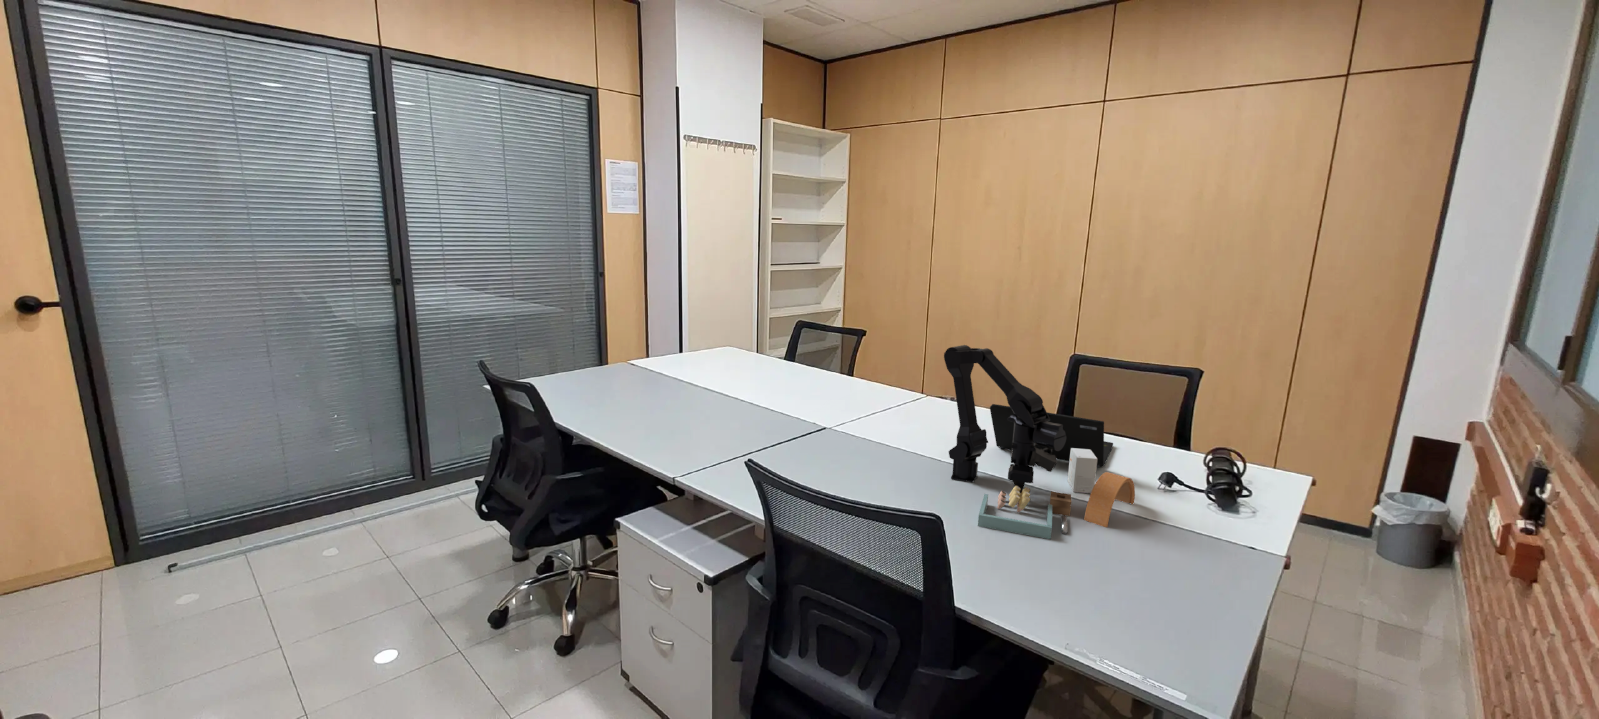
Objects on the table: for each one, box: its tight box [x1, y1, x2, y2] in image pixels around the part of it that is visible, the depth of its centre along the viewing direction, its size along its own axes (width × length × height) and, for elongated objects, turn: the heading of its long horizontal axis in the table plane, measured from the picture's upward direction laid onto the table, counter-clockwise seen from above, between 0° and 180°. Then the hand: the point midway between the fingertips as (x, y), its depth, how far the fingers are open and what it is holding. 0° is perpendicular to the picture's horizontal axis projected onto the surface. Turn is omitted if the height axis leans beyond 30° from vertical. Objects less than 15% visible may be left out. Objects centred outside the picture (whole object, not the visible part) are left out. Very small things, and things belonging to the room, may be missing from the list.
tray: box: [977, 493, 1053, 540], centre depth 161 cm, size 17×14×3 cm
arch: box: [1083, 471, 1136, 528], centre depth 166 cm, size 6×20×10 cm, turn 134°
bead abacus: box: [996, 486, 1031, 513], centre depth 169 cm, size 5×7×8 cm
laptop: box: [989, 403, 1114, 468], centre depth 207 cm, size 33×38×19 cm
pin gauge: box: [1060, 515, 1068, 535], centre depth 158 cm, size 1×8×1 cm, turn 158°
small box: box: [1067, 448, 1098, 494], centre depth 181 cm, size 8×6×10 cm
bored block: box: [1049, 491, 1072, 517], centre depth 167 cm, size 5×5×4 cm
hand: (1019, 493), depth 174 cm, fingers closed
